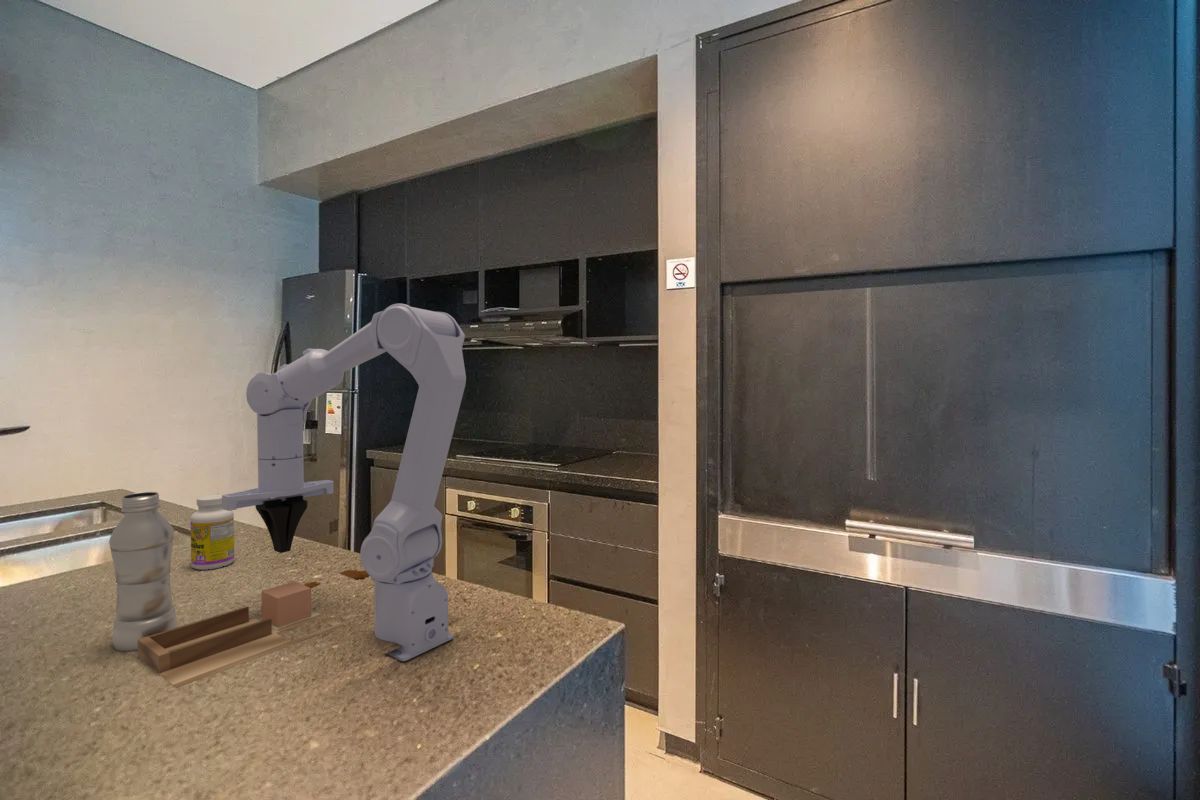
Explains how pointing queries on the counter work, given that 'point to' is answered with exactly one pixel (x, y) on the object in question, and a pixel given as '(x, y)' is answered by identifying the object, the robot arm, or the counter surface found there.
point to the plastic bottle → (142, 571)
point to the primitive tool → (348, 573)
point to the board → (216, 644)
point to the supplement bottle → (211, 534)
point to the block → (286, 603)
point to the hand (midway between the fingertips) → (282, 550)
